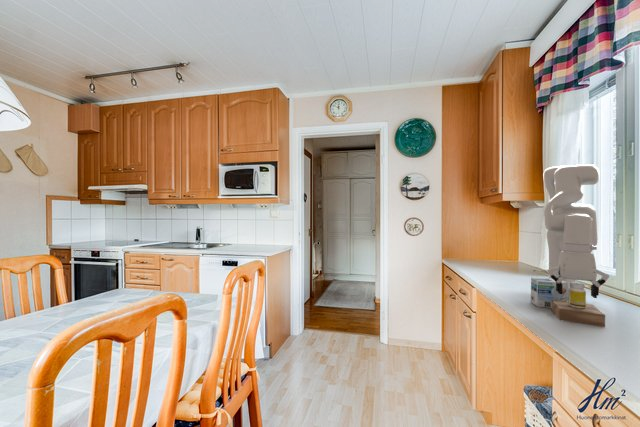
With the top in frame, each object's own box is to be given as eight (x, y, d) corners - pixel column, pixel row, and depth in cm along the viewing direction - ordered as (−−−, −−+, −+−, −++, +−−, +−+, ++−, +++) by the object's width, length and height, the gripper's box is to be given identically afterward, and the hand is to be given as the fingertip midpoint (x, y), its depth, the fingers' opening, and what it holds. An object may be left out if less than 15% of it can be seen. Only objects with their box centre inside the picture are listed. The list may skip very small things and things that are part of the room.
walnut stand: (551, 309, 113) (551, 299, 113) (592, 315, 108) (592, 304, 108) (559, 320, 103) (559, 309, 103) (605, 326, 97) (605, 314, 97)
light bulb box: (537, 307, 117) (537, 280, 117) (529, 302, 123) (530, 277, 123) (568, 309, 114) (568, 282, 114) (559, 304, 120) (559, 278, 120)
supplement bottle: (588, 309, 102) (589, 285, 102) (573, 307, 103) (573, 284, 104) (580, 305, 107) (580, 282, 107) (565, 304, 108) (565, 281, 108)
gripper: (604, 248, 104) (604, 295, 104) (545, 245, 112) (544, 289, 112) (613, 251, 98) (613, 301, 98) (549, 248, 106) (549, 294, 106)
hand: (576, 295), depth 105 cm, fingers open, 9 cm apart
